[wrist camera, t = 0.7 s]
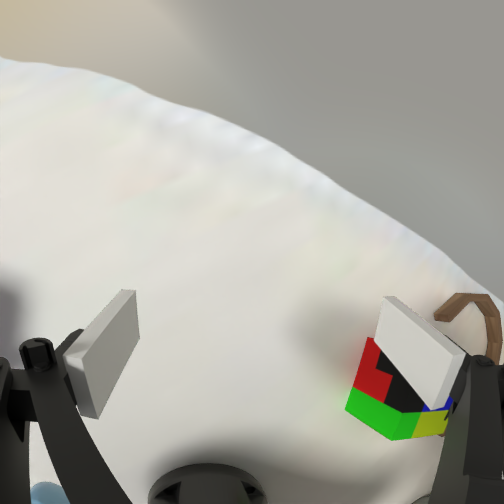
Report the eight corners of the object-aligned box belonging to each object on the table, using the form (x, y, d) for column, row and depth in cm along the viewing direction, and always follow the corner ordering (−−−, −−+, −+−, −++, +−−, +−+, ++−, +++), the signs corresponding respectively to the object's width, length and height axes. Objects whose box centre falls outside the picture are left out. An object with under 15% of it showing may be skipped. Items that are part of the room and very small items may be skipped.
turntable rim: (475, 411, 42) (486, 415, 39) (408, 439, 37) (420, 446, 34) (496, 294, 44) (507, 294, 41) (435, 292, 39) (450, 292, 36)
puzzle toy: (417, 346, 38) (468, 358, 29) (396, 410, 37) (443, 433, 27) (367, 337, 36) (422, 352, 26) (344, 409, 35) (391, 440, 25)
